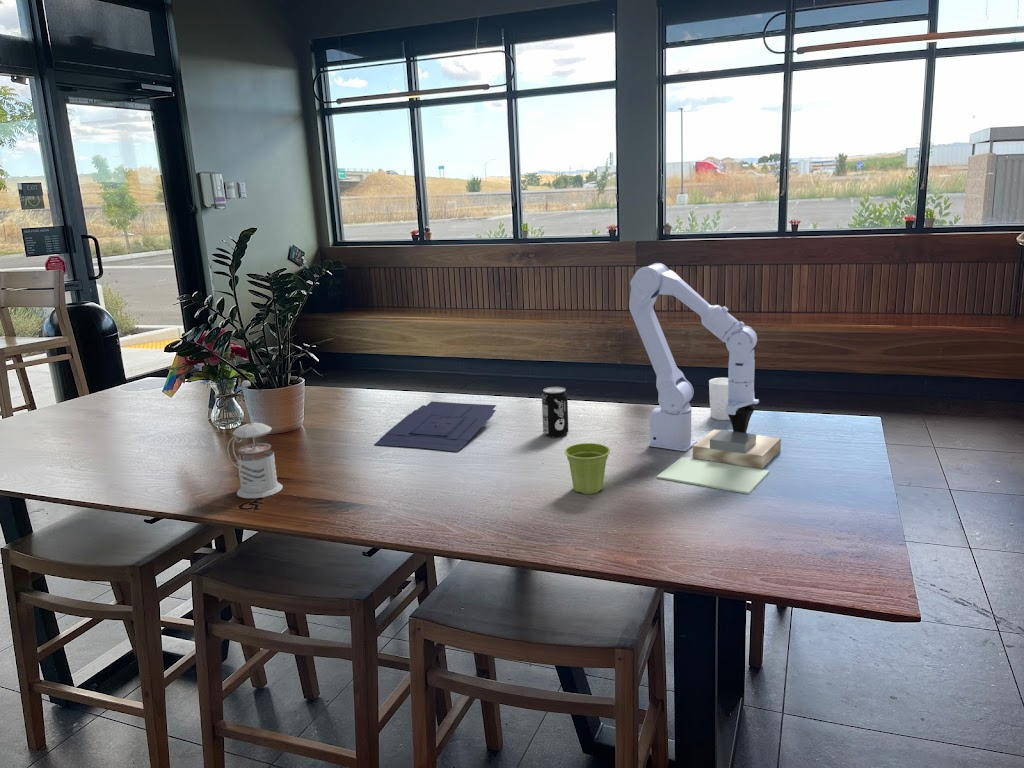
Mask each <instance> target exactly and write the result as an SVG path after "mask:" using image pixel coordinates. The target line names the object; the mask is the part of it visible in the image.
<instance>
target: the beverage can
mask: <svg viewBox="0 0 1024 768" xmlns="http://www.w3.org/2000/svg"><path fill="white" fill-rule="evenodd" d="M542 390H543V392H542V394H541V409H542V411H541V413H542V432H543V434H544V435H545V436H547V437H549V438H561V437H566V436H567V434H568V433H569V410H568V408H569V406H568V405H569V404H568V399H569V398H568V393H567V392H566V388H565V387H561V386H549V387H545V388H544V389H542Z"/></svg>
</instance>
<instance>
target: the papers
mask: <svg viewBox="0 0 1024 768" xmlns="http://www.w3.org/2000/svg"><path fill="white" fill-rule="evenodd" d="M496 407H497V405H496V404H482V403H480V404H479V403H478V404H477V403H463V402H460V403H459V402H446V401H430V402H429V403H427V405H421V406H420V407H419V408H417V409H414V410H413V411H412V412H411V413H409V414H408V415H406V416H405V417H404V418H402V419H401V420H400V421H399V422H397V423H396V424H395V425H394V426H393V427H392V428H390V429H389V430H388V431H387V432H385V434H384V435H383V436H381V437H380V438H379V440H377V441H376V442H375V443H374V445H375V446H390V447H406V448H407V447H408V448H421V449H430V450H438V451H450V452H459V451H460V450H461V449H462V448H463V447H465V446H466V445H467V444H468V443H469V441H470V440H471V439H472V438H473V437H474V435H476V433H477V432H478V431H479V430H480V429H481V428H482V427H483V426H484V425H485V424H486V423H487V422H488V421H490V419H491V418H492V417H493V416H494V413H495V412H496V411H497V409H495V408H496Z"/></svg>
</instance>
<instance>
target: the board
mask: <svg viewBox="0 0 1024 768" xmlns="http://www.w3.org/2000/svg"><path fill="white" fill-rule="evenodd" d="M721 430H722V429H714V428H713V430H711V431H710V432H709V433H707V434H706V435H705V436H703V437H702V438H701V439H699V440H697V443H696V444H694V445H693V446H692V459H697V460H702V459H703V460H704V461H708V460H710V462H715V461H716V462H717V463H721V462H722V463H723V464H729V465H736V466H742V467H749V468H755V469H762V470H764V468H765V467H766V466H767V465H768V464H767V463H768V462H769V461H770V460H771V459H772V458H773V457H774V456H776V455H778V454H779V452H780V451H781V447H782V446H781V445H782V438H781V437H773V436H768V435H759V434H756V444H755V445H754V446H753V447H751V448H750V449H749V450H748V451H747V452H746V453H745V454H744V453H737V452H730V451H724V450H717V449H710V439H711V438H712V437H713V436H715V435H716V434H717V433H718V432H720V431H721ZM774 458H775V457H774ZM774 458H773V459H774ZM770 462H771V461H770ZM770 462H769V463H770ZM765 465H766V466H765Z"/></svg>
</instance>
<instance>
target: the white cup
mask: <svg viewBox="0 0 1024 768" xmlns="http://www.w3.org/2000/svg"><path fill="white" fill-rule="evenodd" d="M708 387H709V390H708V393H709V408H710V417H711V419H713V420H718V421H731V420H730V418H729V416H728V414H726V406H727V398H728V377H715V378H711V379H709V380H708Z"/></svg>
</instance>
